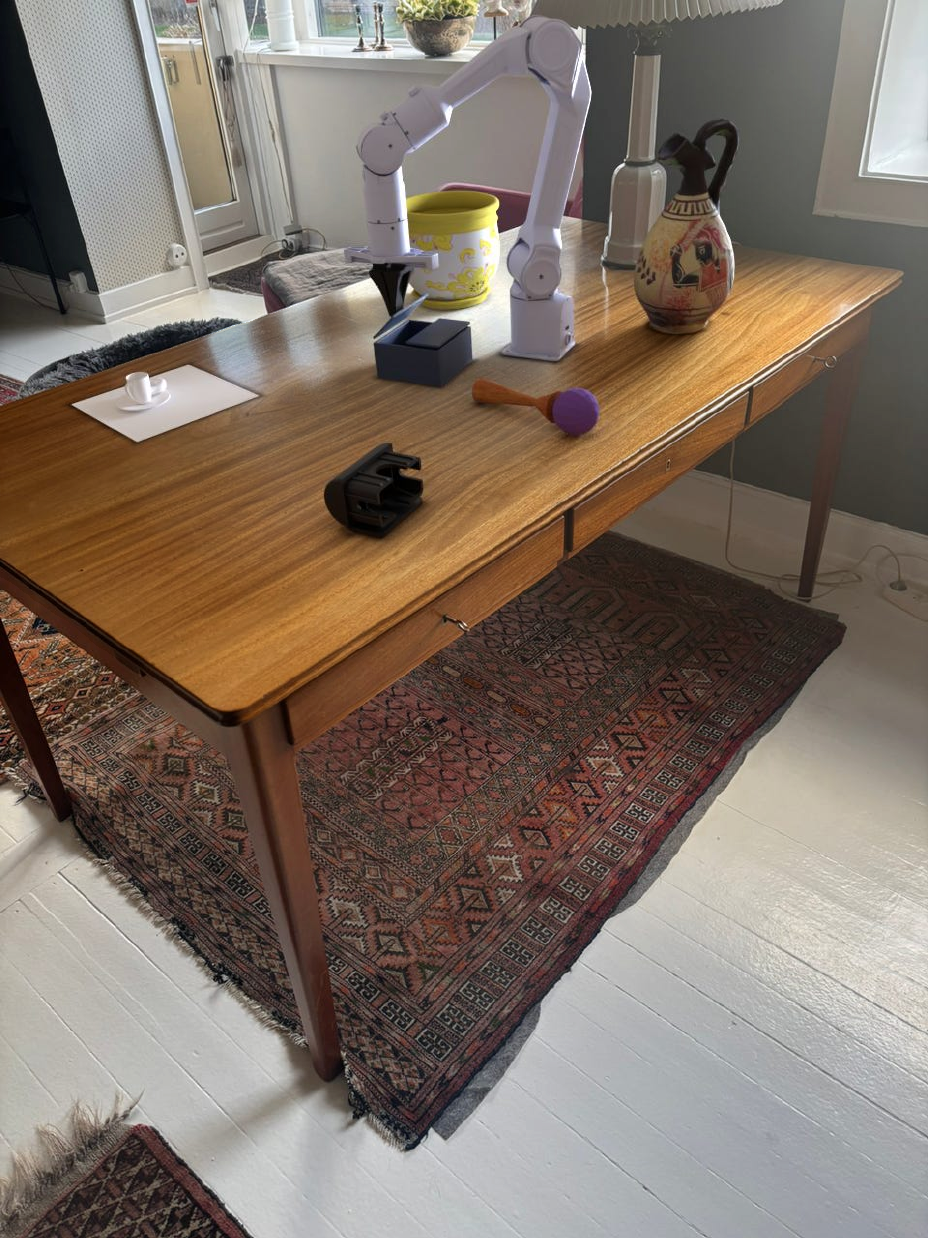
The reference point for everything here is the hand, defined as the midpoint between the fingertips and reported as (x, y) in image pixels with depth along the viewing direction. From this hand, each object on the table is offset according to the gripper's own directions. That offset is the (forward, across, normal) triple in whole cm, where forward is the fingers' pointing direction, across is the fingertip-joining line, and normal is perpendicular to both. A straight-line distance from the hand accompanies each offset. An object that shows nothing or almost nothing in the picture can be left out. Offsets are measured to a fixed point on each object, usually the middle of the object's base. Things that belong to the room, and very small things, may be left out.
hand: (396, 314), depth 140 cm
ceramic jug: (+8, +36, +31) cm, 48 cm away
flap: (0, +1, 0) cm, 1 cm away
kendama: (+8, +27, -11) cm, 30 cm away
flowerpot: (+8, -7, +32) cm, 34 cm away
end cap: (+8, +20, -41) cm, 47 cm away
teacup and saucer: (+8, -27, -23) cm, 37 cm away
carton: (+8, +4, 0) cm, 9 cm away
